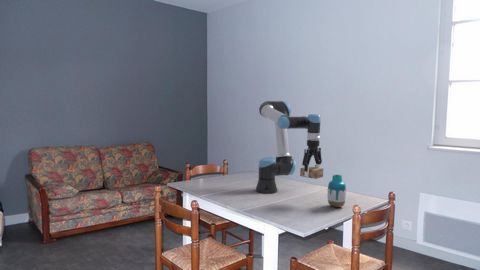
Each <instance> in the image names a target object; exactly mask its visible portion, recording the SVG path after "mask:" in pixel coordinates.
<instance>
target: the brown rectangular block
mask: <svg viewBox="0 0 480 270" xmlns="http://www.w3.org/2000/svg"><path fill="white" fill-rule="evenodd" d="M299 170H300V171H299V173H300V174H299V177H304V178H306V177H305V176H304V175H305V171H304V170H305V166H303V167H300V169H299ZM323 177H324V168H321V167H319V168H316V167H315V166H309V177H307V178H308V179H314V180H318V179H320V178H323Z"/></svg>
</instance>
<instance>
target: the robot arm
mask: <svg viewBox="0 0 480 270" xmlns="http://www.w3.org/2000/svg"><path fill="white" fill-rule="evenodd" d="M258 113H259V115H260V116H261V117H263V118H264V119H269V120H271V121H273V122H274V128H275V130H274V131H275V140H276V141H275V143H276V153H277V155H276V156H275V157H272V156H271V157H262V158H261V159H259V161H258V180H257V184H256V186H255V192H257V193H260V194H275V193H277V192H278V187H277V181H276V177H279V176H281V177H282V176H292V175H293V174H294V173H295V171H296V168H297V164H296V163H297V162H296V161H295V159H294V158H293V156H292V154H290V145H289V134H288V130H289V129H290V130H291V129H294V130H295V129H296V130H297V129H304V130H305V129H307V130H306V131H307V132H306V133H307V135H306V146H307V148H304V153H303V159H302V163H301V165H302V166H303V167H305V170H304V171H305V175H304V176H305V177H304V178H308V177H309V167H310V163H311V159H312V157H313V159H314V161H315V164H314V167H316V168H320V165H322V162H323V161H322V160H323V159H322V147H319V146H320V137H321V136H320V135H321V134H320V133H321V123H322V122H321V115H320V114H308V116H291V114H292V109H291V105H290V104H289V103H288V102H287V101H283V100H275V101H274V100H272V101H271V100H267V101H263V102H262V103H261V104H260V105H259V109H258Z"/></svg>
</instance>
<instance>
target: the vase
mask: <svg viewBox="0 0 480 270" xmlns="http://www.w3.org/2000/svg"><path fill="white" fill-rule="evenodd" d="M346 192H347V185H346V183H345V181H343V176H342V175H341V174H333V175H332V179H331V181H330V180H329V182H328V187H327V204H328V205H329V206H331V207H333V208H341V207H343V206H344V205H345V204H346V198H347V197H346V195H347V193H346Z"/></svg>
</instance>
